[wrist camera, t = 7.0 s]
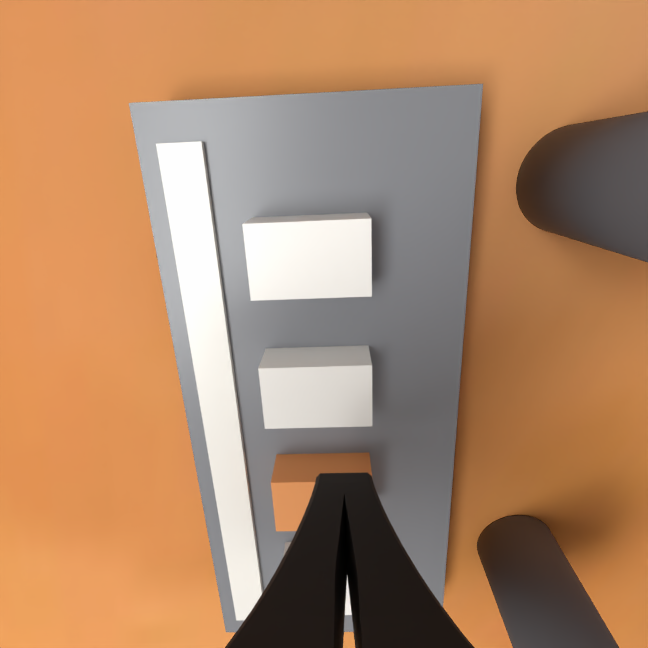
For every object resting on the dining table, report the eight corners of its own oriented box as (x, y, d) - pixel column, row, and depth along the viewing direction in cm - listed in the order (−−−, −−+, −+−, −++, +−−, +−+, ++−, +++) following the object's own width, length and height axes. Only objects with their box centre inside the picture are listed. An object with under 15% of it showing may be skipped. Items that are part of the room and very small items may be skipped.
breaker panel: (159, 112, 13) (100, 94, 10) (460, 96, 12) (503, 72, 9) (236, 588, 20) (217, 669, 17) (430, 586, 19) (449, 668, 16)
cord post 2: (566, 546, 18) (694, 757, 12) (504, 581, 19) (592, 796, 13) (525, 503, 18) (637, 702, 11) (462, 540, 18) (532, 748, 12)
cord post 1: (641, 183, 13) (945, 202, 7) (551, 252, 14) (743, 329, 7) (587, 99, 12) (872, 24, 6) (495, 177, 13) (653, 189, 7)
